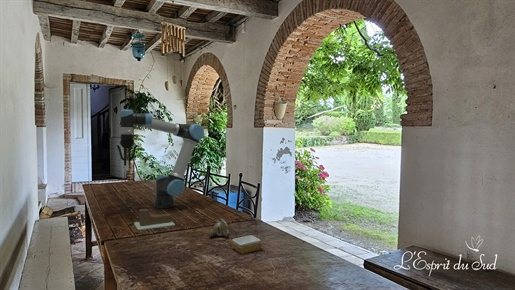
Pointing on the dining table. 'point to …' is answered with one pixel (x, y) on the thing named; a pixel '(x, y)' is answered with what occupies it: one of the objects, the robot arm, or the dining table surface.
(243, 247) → the soap dish
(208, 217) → the dining table surface
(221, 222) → the ceramic sculpture
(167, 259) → the dining table surface
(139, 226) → the mat
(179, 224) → the dining table surface
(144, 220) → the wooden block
